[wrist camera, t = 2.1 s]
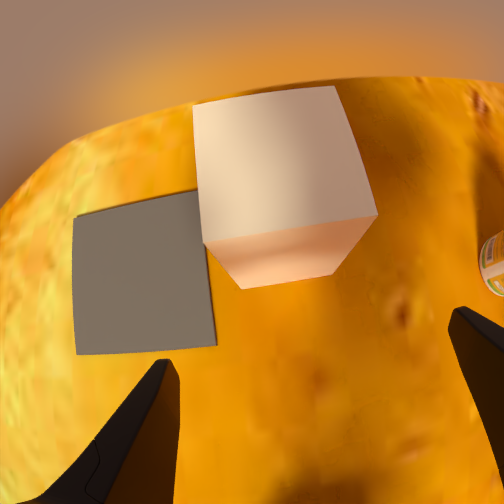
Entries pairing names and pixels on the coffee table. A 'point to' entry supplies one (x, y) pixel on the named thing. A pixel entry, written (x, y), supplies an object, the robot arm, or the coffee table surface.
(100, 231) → the mat
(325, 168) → the white boxy piece
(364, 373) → the coffee table surface
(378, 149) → the coffee table surface
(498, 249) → the supplement bottle
